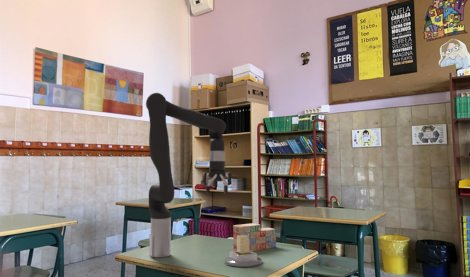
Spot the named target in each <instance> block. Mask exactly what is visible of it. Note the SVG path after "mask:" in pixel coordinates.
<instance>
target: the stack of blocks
mask: <svg viewBox="0 0 470 277" xmlns="http://www.w3.org/2000/svg"><path fill="white" fill-rule="evenodd" d="M232 228H233V231H232V238H233V244H232V245H233V251H237V236H239V235H246V236H249V250H250V251H252V252H254V250H255V251H259V250H268V249H273V248H274V249H275V248H277V235H276V234H277V233H276V231H277V230H276V229H275V228H272V227H262V226H261V224H259V223H255V222H252V223H244V224H235V225H234V224H233V225H232Z"/></svg>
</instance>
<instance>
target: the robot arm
mask: <svg viewBox="0 0 470 277" xmlns="http://www.w3.org/2000/svg"><path fill="white" fill-rule="evenodd" d="M145 107H146V109H147V113H148V117H149V133H148V134H149V136H148V141H149V142H148V146H149V149H148V150H149V156H150V159H151V162H152V163H153V165H154V168H155V169H156V171H157V174H158V181H159V182H157V183H153V184H151V186H150V188H149V190H148V211H149V214H150V234H149V252H148V253H149V256H150V257H151V258H165V257H166V258H167V257H170V256H171V249H172V248H171V244H172V243H171V241H172V240H171V238H172V234H171V233H172V231H171V229H172V226H171V225H172V216H171V215H172V213H171V211H170V210H169V209H168V208H167V207H166V204H170V203H171V202H172V201H173V200H174V197H175V186H174V179H173V174H172V165H171V149H170V140H169V132H168V126H167V117H170V118H173V119H176V120H177V121H178V120H179V121H181V122H184V123H187V124H189V125H191V126H194V127H197V128H198V129H206V130H208V137H209V142H210V144H209V158H208V159H209V160H208V161H209V166H208V167H209V169H208V170H209V171H208V172H206V171H205V172H203V173H202V180H201V183H202V184H201V185H202V186H205V193H206V194H207V195H210V194H211V184H212V183H213V182H221V183H222V184H223V185H224V186H223V194H224V195H227V193H229V192H228V191H229V189H228V188H229V186H231V185H232V173H231V172H230V171H229V172H226V166H225V165H226V153H225V141H224V140H223V139H224V136H223V133H224V132H225V131H226V128H227V125H226V122H225V121H224V120H223V119H220V118H218V117H215V116H211V115H207V114H204V113H202V112H200V111H197V110H193V109H191V108H188V107H183V106H179V105H177V104H175V103H172V102H170V101H168V100H166V97H165V96H164V95H163V94H161V93H159V92H152V93H150V94H149V96H148V97H147V98H146V102H145ZM208 176H209V178H208ZM225 177H226V179H227V180H226V179H225ZM207 178H208V180H207Z"/></svg>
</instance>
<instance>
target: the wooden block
mask: <svg viewBox="0 0 470 277" xmlns="http://www.w3.org/2000/svg"><path fill="white" fill-rule="evenodd" d="M237 254H239V255H244V254H249V236H246V235H239V236H237Z"/></svg>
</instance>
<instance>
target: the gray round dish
mask: <svg viewBox="0 0 470 277" xmlns="http://www.w3.org/2000/svg"><path fill="white" fill-rule="evenodd" d="M223 262H224V264H225V265H226V266H229V267H233V268H252V267H253V268H254V267H258V266H260V265H262V263H263V259H262V258H261V257H258V253H256V252H254V251H250V250H249V254H244V255H239V254H237V251H235V250H231V251H229V255H228V256H227V257H226V258H225V259H224V260H223Z"/></svg>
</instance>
